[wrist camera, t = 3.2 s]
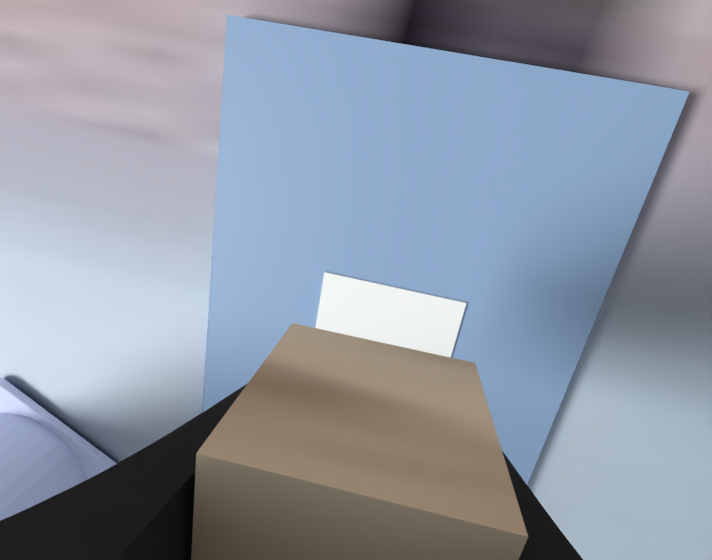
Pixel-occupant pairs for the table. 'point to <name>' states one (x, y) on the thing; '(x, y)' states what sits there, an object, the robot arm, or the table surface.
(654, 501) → the table surface
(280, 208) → the board
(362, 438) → the maple cube
